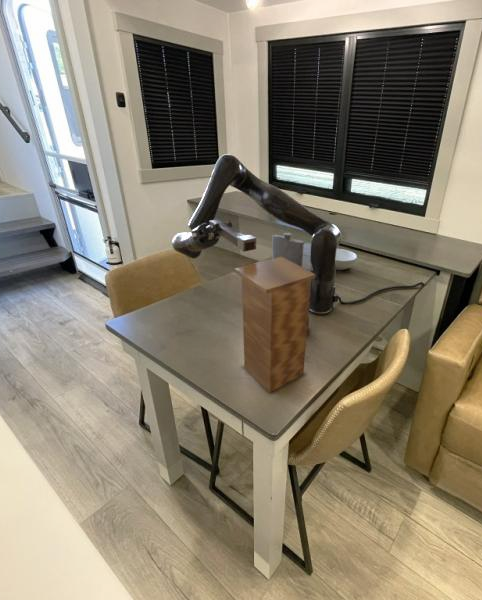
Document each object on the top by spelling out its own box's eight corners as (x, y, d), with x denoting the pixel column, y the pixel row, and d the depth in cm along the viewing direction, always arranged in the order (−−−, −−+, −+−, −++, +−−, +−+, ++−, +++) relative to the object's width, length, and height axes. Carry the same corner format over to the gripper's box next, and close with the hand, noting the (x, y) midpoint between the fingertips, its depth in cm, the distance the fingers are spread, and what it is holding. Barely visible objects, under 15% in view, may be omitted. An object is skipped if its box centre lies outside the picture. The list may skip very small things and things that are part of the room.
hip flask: (302, 276, 156) (305, 235, 146) (298, 279, 152) (301, 238, 143) (274, 268, 162) (275, 228, 152) (269, 271, 159) (270, 230, 149)
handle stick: (220, 226, 101) (220, 216, 100) (256, 249, 89) (256, 238, 87) (208, 228, 99) (207, 218, 97) (243, 251, 87) (243, 240, 85)
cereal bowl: (356, 275, 161) (359, 261, 158) (323, 272, 161) (324, 259, 158) (352, 261, 176) (354, 249, 173) (321, 259, 176) (323, 247, 172)
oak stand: (278, 348, 107) (281, 256, 91) (307, 372, 98) (315, 274, 82) (238, 367, 98) (233, 268, 82) (265, 395, 89) (266, 290, 73)
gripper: (179, 229, 104) (197, 215, 90) (219, 223, 112) (242, 209, 98) (186, 252, 105) (205, 242, 91) (225, 244, 113) (249, 234, 99)
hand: (224, 225), depth 95 cm, fingers closed on handle stick, 3 cm apart
